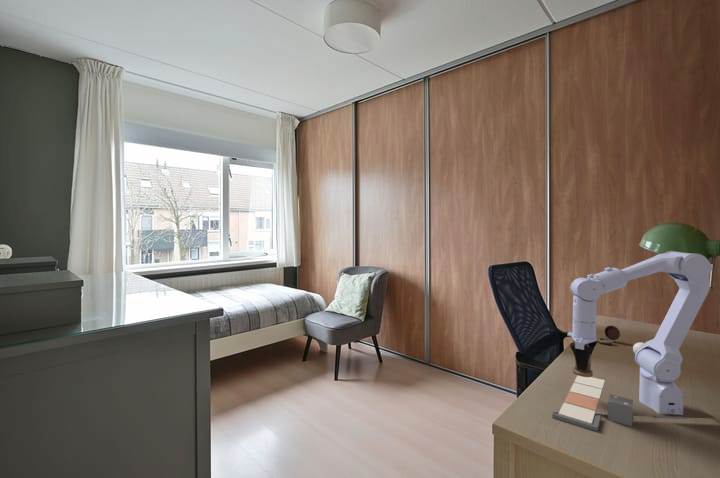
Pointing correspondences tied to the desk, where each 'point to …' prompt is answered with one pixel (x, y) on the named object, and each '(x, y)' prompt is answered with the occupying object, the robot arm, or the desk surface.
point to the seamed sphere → (637, 346)
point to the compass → (610, 335)
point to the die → (620, 410)
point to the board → (582, 403)
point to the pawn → (581, 372)
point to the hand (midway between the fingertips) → (583, 367)
